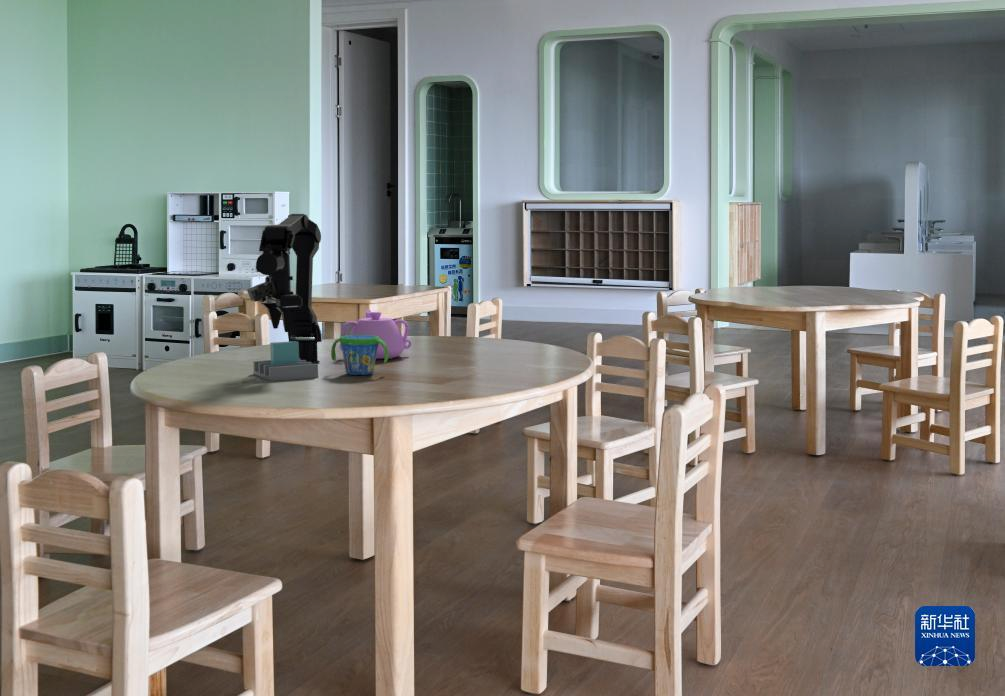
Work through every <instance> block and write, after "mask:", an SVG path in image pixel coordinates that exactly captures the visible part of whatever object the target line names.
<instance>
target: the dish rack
mask: <svg viewBox="0 0 1005 696" xmlns="http://www.w3.org/2000/svg"><path fill="white" fill-rule="evenodd" d="M252 363H253V375H255V376H258V377H260V378H261V379H262V378H263V379H265V380H267V381H270V382H275V381H278V382H279V381H289V380H302V379H313V378H314V379H316V378H319V363H312V362H306V360H301V358H299V363H287V364H273V365H271V359H268V360H267V359H266V360H254V361H252Z"/></svg>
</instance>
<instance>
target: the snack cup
mask: <svg viewBox="0 0 1005 696" xmlns="http://www.w3.org/2000/svg"><path fill="white" fill-rule="evenodd" d="M379 342H380V343H381V345H382V346H383V348H384V350H385V358H383V359H384V360H383V363H387V362H388V360H389V359H388V349H387V346H386V344H385V342H384V341H383V340H381V339H379V337H378V336H373V335H350V334H346V336H343V335H342V336H340V337H339V338H337V339H336V340H335V341H334V342H333V344H332V346H331V351H330V356H331V360H332V362H333V361H334V362H335V361H336V360H337V355H336V346H337V344H338V343H339V344H340V343H341V345H342V350H341V351H342V355H343V356H342V357H343V363H344V370H345V373H346V374H347V375H350V376H368V375H369V376H370V375H373V374H374V370H375V367H376V366H375V365H376V353H377V348H378V344H379Z"/></svg>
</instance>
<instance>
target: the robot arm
mask: <svg viewBox="0 0 1005 696" xmlns="http://www.w3.org/2000/svg"><path fill="white" fill-rule="evenodd" d="M321 241H322V232H321V230H320V228H319V226H318V224H317V223H315V222H314V221H313V220H312V219H309V216H308V215H307V214H305V213H290V214H288V216H287V217H286V218H285V219H284V220H282V221H281V222H280V223H278V224H269V225H266V226H265V227H264V229H263V230H262V234H261V238H260V243H259V247H258V248H259V250H258V251H259V252H262V254H260V255H259V256H258V257H257V258H256V261H255V267H256V269H257V271H258V272H259V273H260V274H262V275H264V276H266V277H265V278H264V279H265V281H264V282H262V283H259V284H256V285H254V286H252V287H250V288H247V290H246V291H247V293H248V295H249V299H250V301H251V302H256V303H257V302H260V304H261V305H262V306H264V308H266V309H267V313H268V315H269V317H270V318H269V319H270V322H271V325H272V328H273V329H275V330H276V329H278V328H279V324H280V321H281V319H282V325H283V330H284V333H287V338H288V341H297V342H299V358H301V360H306V362H312V364H319V363H321V362H320V360H319V359H318V343H322V339H323V336H322V331H321V328H320V325H319V322H318V317H317V314H316V313H315V311H314V309H313V307H312V306H313V305H312V302H313V272H314V271H313V270H314V269H313V268H314V267H313V265H314V263H313V262H314V257H315V255H316V253H317V252H318V251H319V250H320V243H321ZM291 249H292V250H293V252H294V253H295V255H296V270H295V271H296V272H295V273H296V276H295V277H296V278H295V293H294V291H291V290H292V289H291V285H292V283H291V281H293V280H294V279H293V276H292V275H291V261H290V255H291Z"/></svg>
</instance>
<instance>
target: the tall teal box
mask: <svg viewBox="0 0 1005 696" xmlns="http://www.w3.org/2000/svg"><path fill="white" fill-rule="evenodd" d="M269 349H270V353H269V354H270V360H271V365H273V364H287V363H299V342H297V341H289V340H288V341H273V342H270V343H269Z"/></svg>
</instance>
